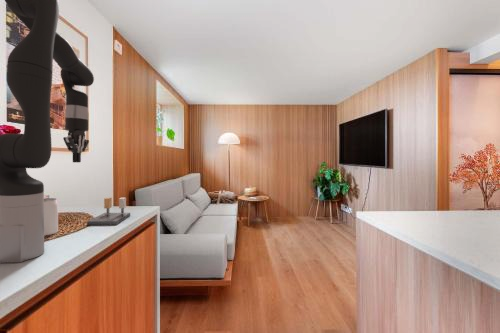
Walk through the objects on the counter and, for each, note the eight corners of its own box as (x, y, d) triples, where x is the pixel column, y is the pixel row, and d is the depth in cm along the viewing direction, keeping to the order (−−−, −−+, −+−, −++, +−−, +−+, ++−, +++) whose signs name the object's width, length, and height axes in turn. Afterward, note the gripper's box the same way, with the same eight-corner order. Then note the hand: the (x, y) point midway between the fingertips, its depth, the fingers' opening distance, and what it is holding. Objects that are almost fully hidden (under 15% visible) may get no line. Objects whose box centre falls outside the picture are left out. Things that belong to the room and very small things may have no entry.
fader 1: (109, 213, 109) (109, 198, 109) (104, 213, 109) (104, 198, 109) (111, 212, 112) (111, 197, 112) (106, 212, 112) (106, 197, 112)
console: (116, 224, 99) (116, 221, 99) (87, 225, 98) (87, 221, 98) (130, 215, 114) (130, 212, 114) (104, 216, 113) (104, 212, 113)
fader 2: (123, 213, 110) (123, 198, 110) (118, 213, 110) (119, 198, 110) (125, 212, 113) (126, 197, 113) (121, 212, 113) (121, 197, 112)
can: (62, 231, 90) (62, 198, 89) (46, 237, 83) (46, 201, 83) (46, 230, 90) (46, 197, 90) (28, 236, 84) (28, 200, 83)
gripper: (77, 115, 91) (76, 162, 92) (96, 121, 104) (95, 162, 105) (55, 114, 91) (54, 162, 91) (77, 120, 104) (76, 162, 104)
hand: (76, 162), depth 98 cm, fingers closed
